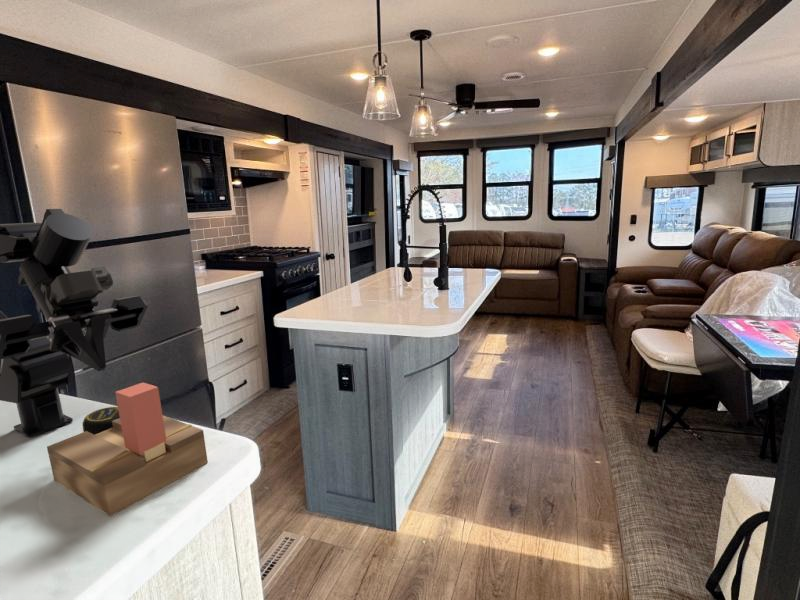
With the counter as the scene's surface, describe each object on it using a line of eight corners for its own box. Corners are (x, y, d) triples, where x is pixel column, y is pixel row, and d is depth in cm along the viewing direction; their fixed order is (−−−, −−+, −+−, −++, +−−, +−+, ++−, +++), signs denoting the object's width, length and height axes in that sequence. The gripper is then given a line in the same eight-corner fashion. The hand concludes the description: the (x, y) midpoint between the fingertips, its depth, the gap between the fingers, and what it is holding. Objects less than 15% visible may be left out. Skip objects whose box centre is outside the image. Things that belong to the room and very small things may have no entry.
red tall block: (125, 455, 59) (114, 391, 57) (152, 443, 62) (142, 381, 60) (142, 463, 57) (131, 397, 55) (169, 450, 60) (159, 387, 58)
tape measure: (128, 440, 72) (124, 418, 71) (78, 448, 70) (74, 426, 69) (138, 421, 78) (135, 401, 77) (93, 429, 76) (89, 408, 75)
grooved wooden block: (54, 480, 61) (46, 445, 60) (149, 437, 72) (144, 407, 71) (110, 516, 53) (102, 477, 52) (207, 462, 64) (203, 429, 63)
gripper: (-22, 258, 57) (30, 356, 53) (132, 245, 72) (181, 319, 68) (-28, 313, 62) (19, 404, 59) (116, 290, 78) (160, 361, 74)
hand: (102, 369), depth 65 cm, fingers closed
